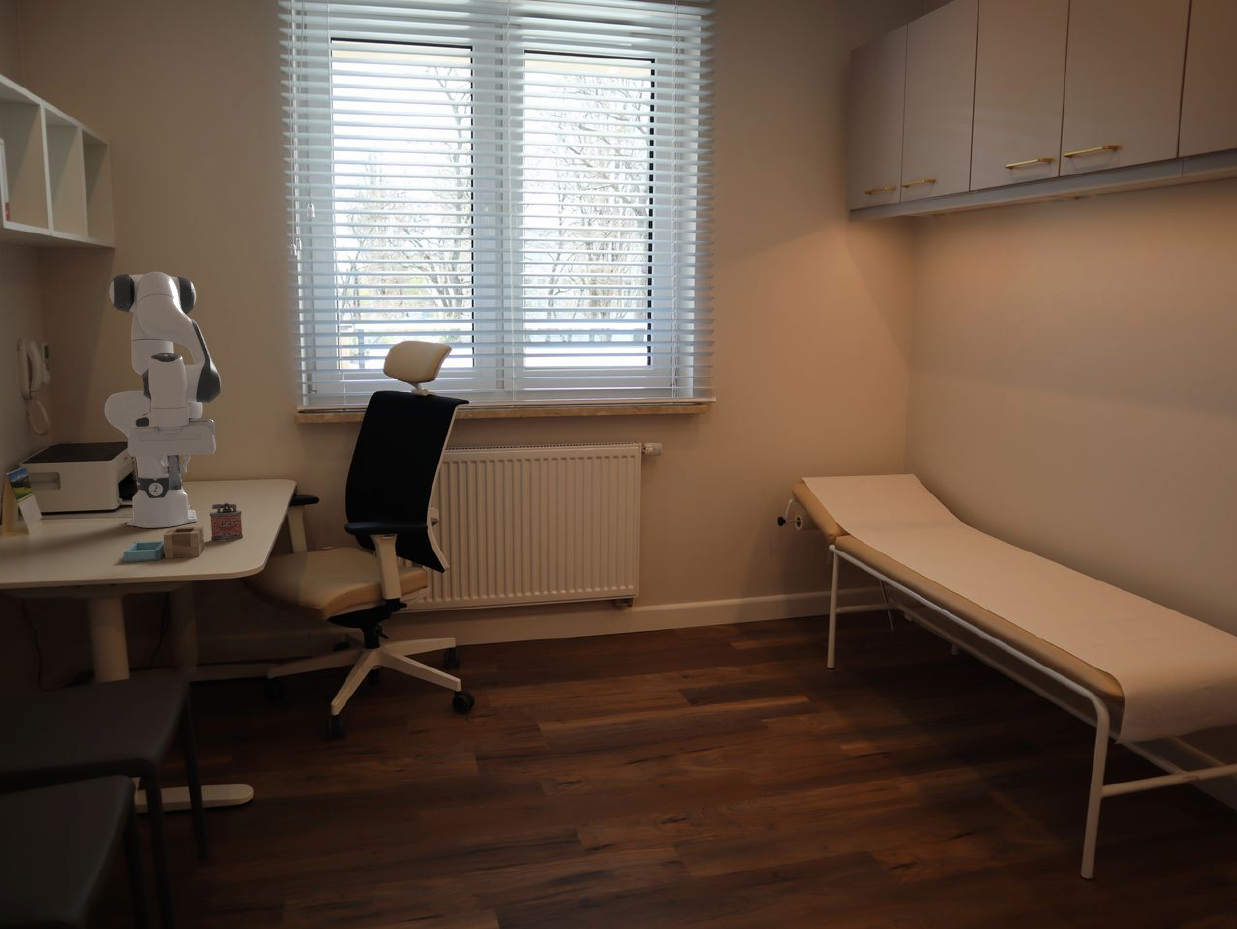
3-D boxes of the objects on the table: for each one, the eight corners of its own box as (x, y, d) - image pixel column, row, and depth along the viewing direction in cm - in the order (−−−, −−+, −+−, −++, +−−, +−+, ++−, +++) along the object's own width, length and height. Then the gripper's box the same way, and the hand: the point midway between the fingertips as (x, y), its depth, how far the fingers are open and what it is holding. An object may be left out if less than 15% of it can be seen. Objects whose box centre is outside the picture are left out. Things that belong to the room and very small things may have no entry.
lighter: (243, 536, 273) (240, 500, 271) (243, 539, 270) (240, 503, 268) (211, 538, 270) (209, 502, 268) (211, 541, 267) (208, 505, 265)
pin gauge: (170, 488, 252) (167, 445, 250) (182, 488, 252) (179, 445, 251) (168, 490, 249) (165, 447, 247) (180, 490, 250) (177, 446, 248)
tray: (134, 551, 255) (133, 542, 255) (168, 550, 257) (167, 540, 257) (124, 562, 245) (123, 552, 244) (159, 560, 246) (158, 550, 246)
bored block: (171, 550, 256) (169, 528, 255) (204, 549, 258) (203, 526, 257) (165, 558, 249) (163, 534, 248) (199, 556, 251) (197, 533, 250)
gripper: (216, 416, 253) (220, 469, 256) (129, 418, 248) (133, 472, 251) (213, 418, 247) (216, 473, 250) (123, 421, 242) (128, 476, 245)
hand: (174, 473), depth 250 cm, fingers closed on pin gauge, 3 cm apart
